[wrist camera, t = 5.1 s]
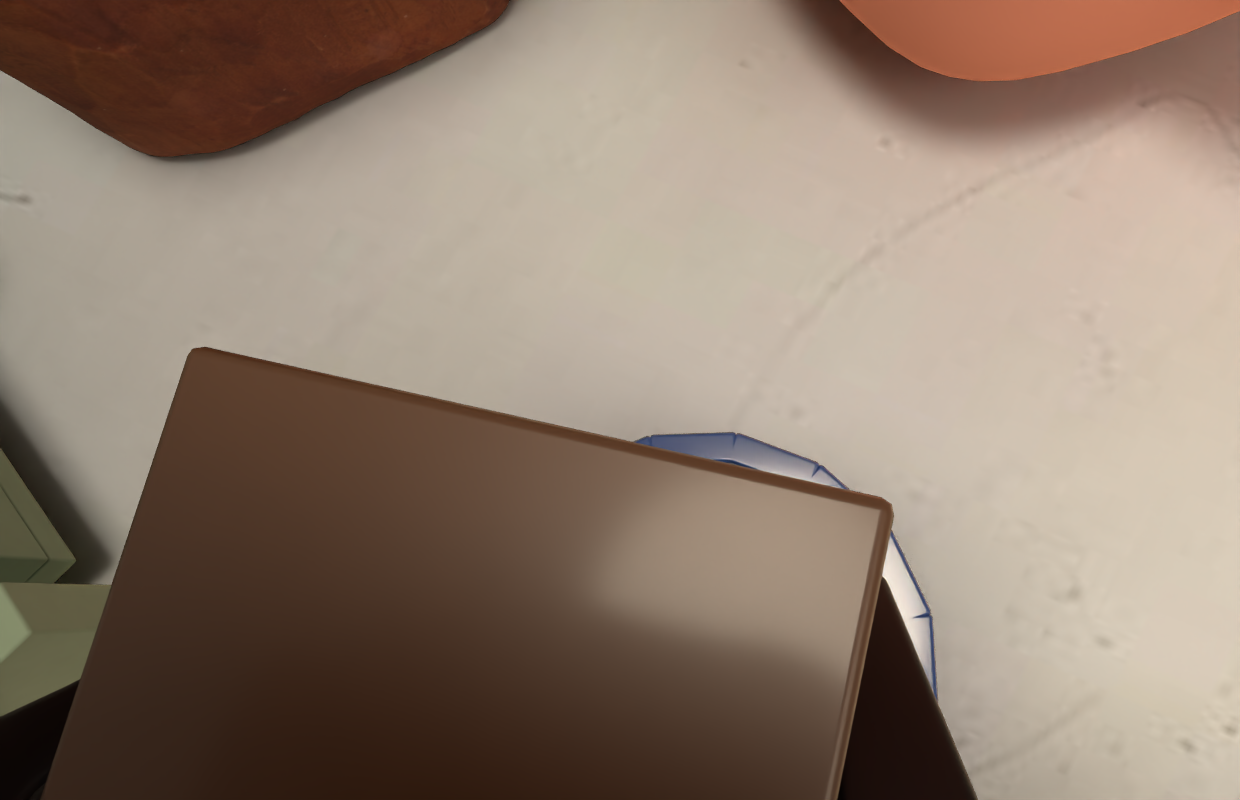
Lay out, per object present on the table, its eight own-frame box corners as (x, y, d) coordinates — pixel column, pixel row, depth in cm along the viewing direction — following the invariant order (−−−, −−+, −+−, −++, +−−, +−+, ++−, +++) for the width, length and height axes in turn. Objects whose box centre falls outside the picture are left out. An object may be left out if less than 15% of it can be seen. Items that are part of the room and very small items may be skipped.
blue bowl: (830, 915, 17) (837, 1004, 13) (486, 745, 19) (405, 780, 15) (961, 545, 18) (1003, 530, 14) (620, 416, 20) (577, 372, 16)
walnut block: (783, 797, 15) (707, 1455, 3) (574, 735, 16) (-64, 1090, 4) (828, 578, 15) (898, 498, 4) (624, 528, 16) (186, 342, 5)
